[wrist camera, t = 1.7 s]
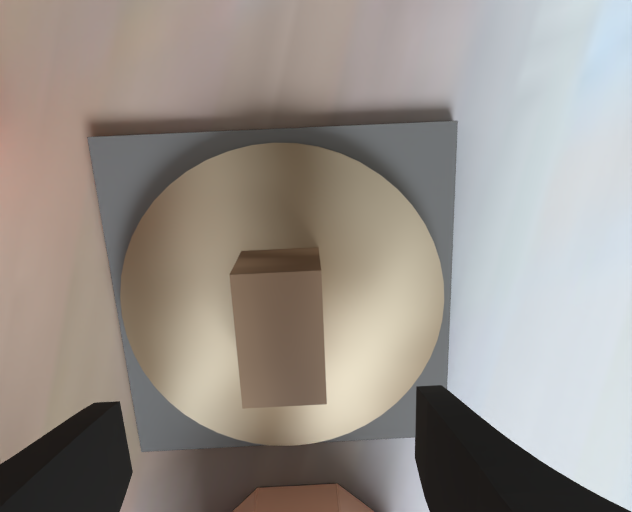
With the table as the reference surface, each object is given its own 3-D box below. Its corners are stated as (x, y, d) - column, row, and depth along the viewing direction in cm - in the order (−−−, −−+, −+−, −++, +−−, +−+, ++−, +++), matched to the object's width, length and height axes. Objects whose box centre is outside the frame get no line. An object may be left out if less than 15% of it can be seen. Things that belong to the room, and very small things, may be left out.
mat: (145, 444, 22) (141, 451, 21) (93, 136, 18) (87, 136, 17) (441, 428, 22) (444, 435, 21) (453, 121, 18) (457, 121, 18)
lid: (151, 441, 21) (119, 507, 17) (103, 150, 18) (50, 156, 14) (434, 426, 21) (461, 489, 18) (444, 135, 18) (480, 137, 14)
